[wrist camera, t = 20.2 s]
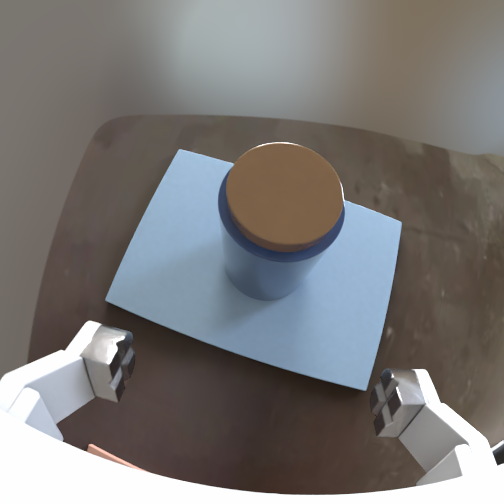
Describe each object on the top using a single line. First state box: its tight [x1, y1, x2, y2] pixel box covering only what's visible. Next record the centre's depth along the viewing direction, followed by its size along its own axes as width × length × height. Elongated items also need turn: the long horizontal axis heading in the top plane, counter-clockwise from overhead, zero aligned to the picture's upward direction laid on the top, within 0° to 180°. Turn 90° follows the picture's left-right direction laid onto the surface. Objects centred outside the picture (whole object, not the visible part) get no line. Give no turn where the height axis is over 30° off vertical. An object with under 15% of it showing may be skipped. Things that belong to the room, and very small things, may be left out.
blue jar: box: [218, 142, 345, 301], centre depth 18 cm, size 6×6×10 cm
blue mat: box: [105, 149, 402, 391], centre depth 23 cm, size 20×14×1 cm
